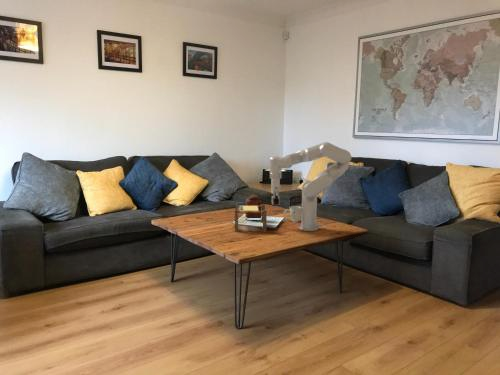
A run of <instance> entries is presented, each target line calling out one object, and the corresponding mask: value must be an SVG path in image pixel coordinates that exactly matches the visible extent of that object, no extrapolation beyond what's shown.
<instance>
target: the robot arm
mask: <svg viewBox="0 0 500 375" xmlns="http://www.w3.org/2000/svg"><path fill="white" fill-rule="evenodd" d="M324 157H326V158H328V159H330V160H332V161H335V162H334V163H333V164H332V165H330V166H329V167H327V168H326V169H325V170H324V169H323V171H321V172H319V173H318V174H317V175H316V177H315V178H314V179H311V180H306V181H305V182H303V184H302V185H301V186H302V187H301V207H302V209H301V217H300V220H301V223H300V224H301V225H299V226H298V229H299V230H301V231H304V232H305V231H307V232H313V231H314V232H315V231H318V230H319V227H324V223H323V222H322V223H321V222H317V212H318V211H317V209H318V207H317V206H318V195H320V194H321V193H323V192H324V191H326V190H327V189H329V188H330V187H331V186H332V185H333V182H334V181H335V180H337V179H338V178H339V177H340V176H342V175H343V174H344V173H345V172H346V171H348V168H349V165H350V162H351V161H352V154H351V152H350V151H348V150H347V149H344V148H342V147H338V146H336V145H334V144H332V143H330V142H329V141H325V142H322V143H319V144H316V145H313V146H310V147H307V148H304V149H302V150H299V151H296V152H293V153H290V154H287V155H285V156H283V157H280V156H271V157H270V158H269V179H271V181H270V182H271V183H270V184H271V185H270V192H271V194H272V196H274V205H273V206H279V205H278V204H279V196H280V195H279V194H280V192H281V191H280V189H281V188H280V187H281V182H280V181H281V179H282V169H291V168H292V167H293V166H294V165H298V164H301V163H309V162H312V161H317V160H320V159H321V158H324Z"/></svg>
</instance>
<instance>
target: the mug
mask: <svg viewBox="0 0 500 375" xmlns="http://www.w3.org/2000/svg"><path fill="white" fill-rule="evenodd" d="M287 212H289V213H290V214H289V215H290V217H287V215H286V213H287ZM283 216H284V218H286V219H290V221H291V222H293V223H298V222H300V220H301V217H302V206H299V205H290V206H289V209H288V208H287V209H284V211H283Z"/></svg>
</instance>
